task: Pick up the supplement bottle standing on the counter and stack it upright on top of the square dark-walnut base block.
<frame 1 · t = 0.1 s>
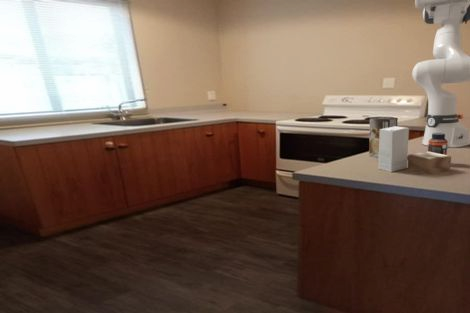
hand: (446, 15, 113), 52 cm above the countertop, tool tilted 20°, fingers open, 8 cm apart
skincare box: (392, 169, 118), on the countertop
supplement bottle: (436, 164, 121), on the countertop
walnut base: (428, 169, 114), on the countertop
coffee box: (382, 156, 138), on the countertop
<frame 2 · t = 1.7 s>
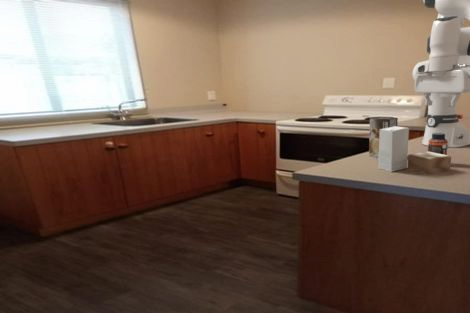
hand: (440, 106, 117), 21 cm above the countertop, tool pointing down, fingers open, 8 cm apart
nothing on the countertop moved.
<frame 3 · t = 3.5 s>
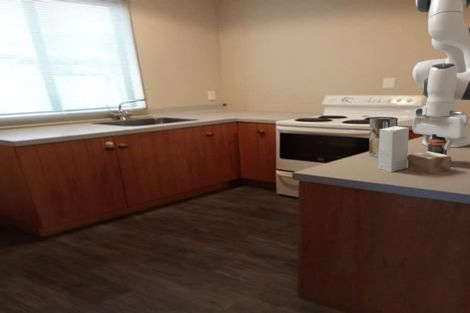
hand: (437, 148, 120), 6 cm above the countertop, tool pointing down, fingers closed on supplement bottle, 6 cm apart
supplement bottle: (436, 164, 121), on the countertop, touching gripper
everything else where it was.
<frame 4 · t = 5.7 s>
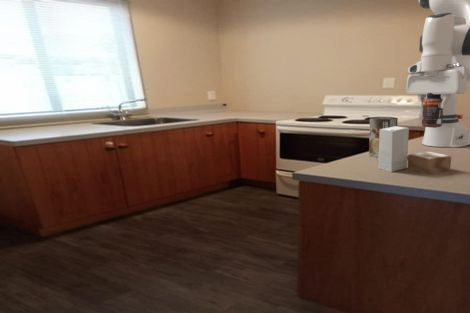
hand: (433, 108, 110), 21 cm above the countertop, tool pointing down, fingers closed on supplement bottle, 6 cm apart
supplement bottle: (431, 127, 111), point 15 cm above the countertop, touching gripper
everything else where it was.
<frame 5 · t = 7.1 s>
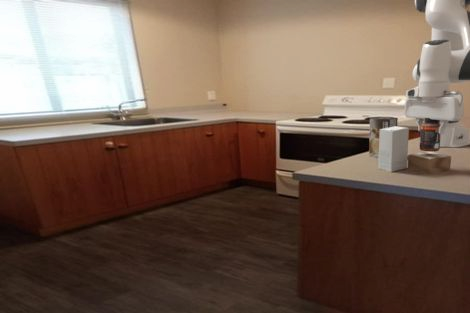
hand: (430, 132, 111), 13 cm above the countertop, tool pointing down, fingers closed on supplement bottle, 6 cm apart
supplement bottle: (429, 150, 113), point 7 cm above the countertop, touching gripper
everything else where it was.
when the fingers open (11 cm above the countertop, at t = 7.9 s): supplement bottle stays where it is, resting on walnut base.
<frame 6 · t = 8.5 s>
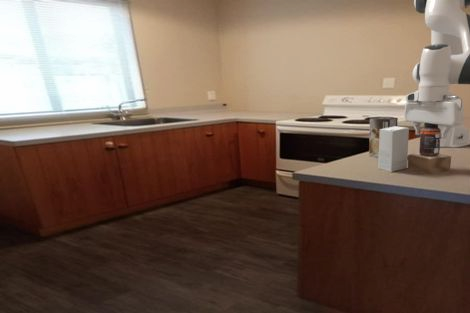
hand: (430, 136, 112), 12 cm above the countertop, tool pointing down, fingers open, 8 cm apart
supplement bottle: (429, 155, 113), point 5 cm above the countertop, touching walnut base
everything else where it was.
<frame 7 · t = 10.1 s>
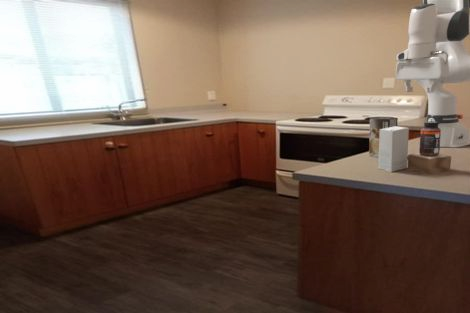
hand: (419, 92, 120), 26 cm above the countertop, tool pointing down, fingers open, 8 cm apart
nothing on the countertop moved.
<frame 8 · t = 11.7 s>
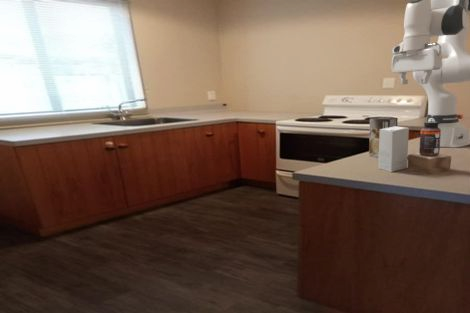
hand: (414, 84, 124), 29 cm above the countertop, tool pointing down, fingers open, 8 cm apart
nothing on the countertop moved.
at the end: supplement bottle 0.1 cm from the walnut base (horizontally); supplement bottle point 5.1 cm above the countertop; supplement bottle tilted 0° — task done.
